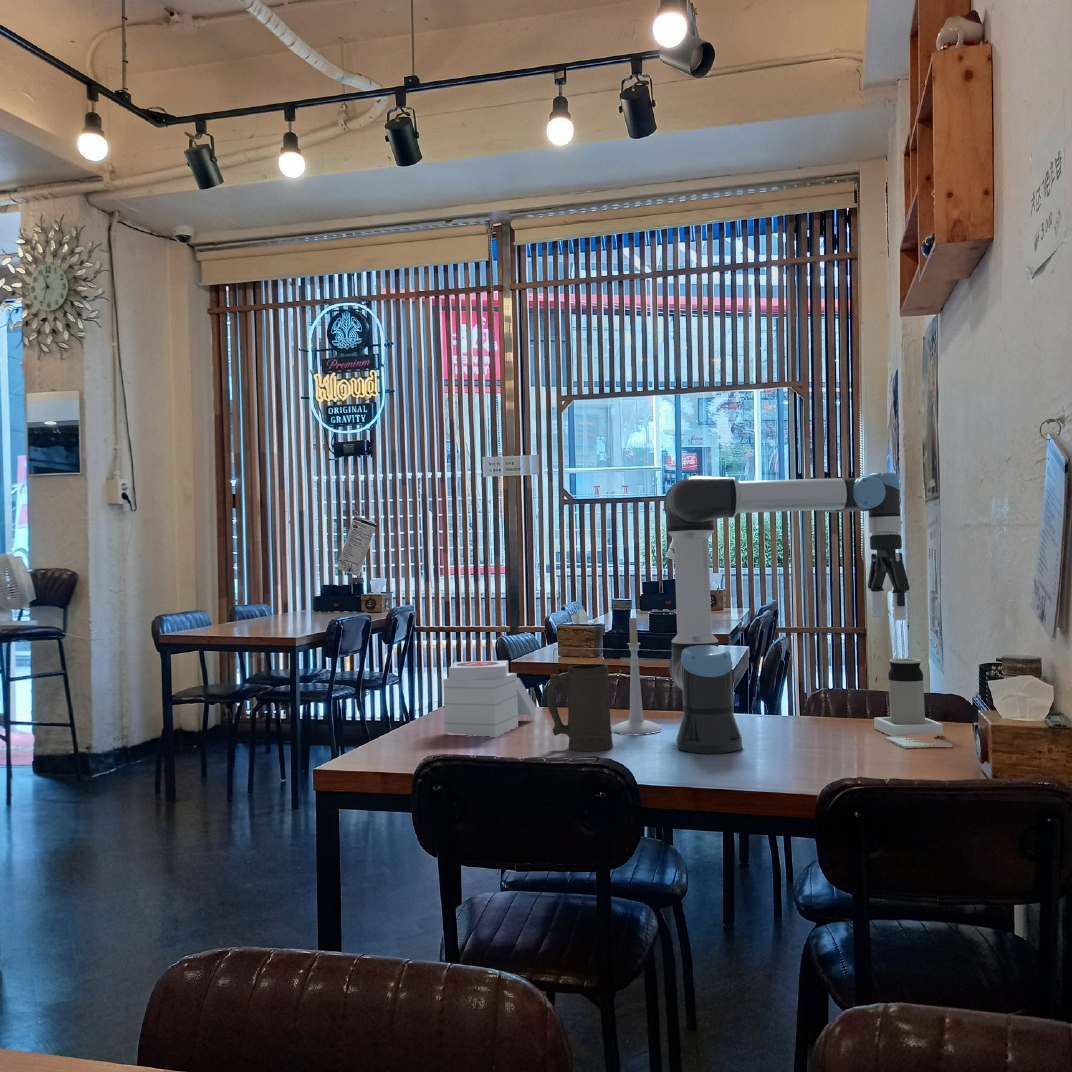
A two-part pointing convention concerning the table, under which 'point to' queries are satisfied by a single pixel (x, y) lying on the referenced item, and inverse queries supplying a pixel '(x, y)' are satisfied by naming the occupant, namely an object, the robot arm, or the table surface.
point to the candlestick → (635, 693)
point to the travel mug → (906, 692)
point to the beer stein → (583, 707)
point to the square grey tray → (907, 727)
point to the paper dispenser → (484, 699)
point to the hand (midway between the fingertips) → (889, 618)
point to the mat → (906, 743)
